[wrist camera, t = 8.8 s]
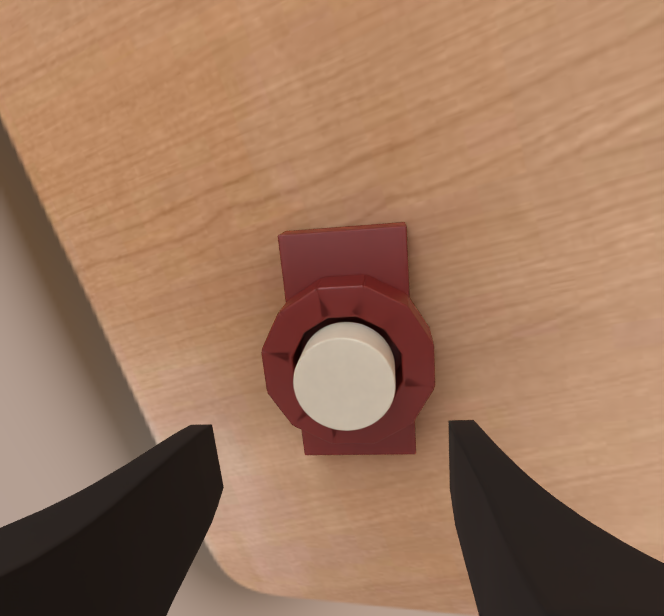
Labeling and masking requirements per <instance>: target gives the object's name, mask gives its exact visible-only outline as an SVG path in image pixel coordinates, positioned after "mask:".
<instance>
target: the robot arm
mask: <svg viewBox="0 0 664 616" xmlns="http://www.w3.org/2000/svg"><path fill="white" fill-rule="evenodd" d="M449 469H450V493H451V500H452V507H453V513H454V520H455V526H456V530H457V534H458V538H459V541H460V545H461V549H462V553H463V557H464V560H465V564H466V568H467V571H468V575H469V579H470V583H471V586H472V590H473V594H474V598H475V601H476V605H477V609H478V612H479V616H664V563H662V562H660V561H658V560H656V559H654V558H652V557H650V556H648V555H646V554H644V553H643V552H641V551H639V550H637V549H635V548H633V547H632V546H630V545H628V544H626V543H624V542H622V541H621V540H619V539H617V538H616V537H614V536H612V535H611V534H609V533H607V532H606V531H604V530H602V529H601V528H599V527H597V526H596V525H594V524H593V523H591V522H590V521H588V520H586V519H585V518H583V517H582V516H580V515H579V514H577V513H576V512H575V511H573V510H572V509H570V508H569V507H568V506H566V505H565V504H563V503H562V502H561V501H559V500H558V499H556V498H555V497H554V496H552V495H551V494H550V493H549V492H547V491H546V490H545V489H543V488H542V487H541V486H540V485H539V484H538V483H536V482H535V481H534V480H533V479H532V478H530V477H529V476H528V475H527V474H526V473H525V472H524V471H523V470H522V469H520V468H519V467H518V466H517V465H516V464H515V463H514V462H513V461H512V460H511V459H510V458H509V457H508V456H507V455H506V454H505V453H504V452H503V451H502V450H501V449H500V448H499V447H498V446H497V445H496V444H495V443H494V442H493V441H492V440H491V438H490V437H489V436H488V435H487V434H486V433H485V432H484V431H483V430H482V429H481V428H480V426H479V425H478V424H477V423H476V422H475V421H474V420H454V421H449ZM223 488H224V487H223V481H222V476H221V471H220V465H219V460H218V455H217V449H216V444H215V438H214V433H213V428H212V425H190V426H188V427H186V428H184V429H182V430H180V431H179V432H177V433H175V434H174V435H172V436H170V437H169V438H167V439H166V440H164V441H162V442H161V443H159V444H158V445H156V446H155V447H153V448H152V449H150V450H148V451H147V452H145V453H144V454H142V455H140V456H139V457H137V458H136V459H134V460H133V461H131V462H130V463H128V464H126V465H125V466H123V467H121V468H120V469H118V470H116V471H114V472H113V473H111V474H109V475H108V476H106V477H104V478H103V479H101V480H99V481H98V482H96V483H94V484H93V485H90V486H89V487H87V488H85V489H83V490H81V491H80V492H77V493H76V494H74V495H72V496H70V497H68V498H66V499H64V500H62V501H60V502H58V503H56V504H54V505H52V506H50V507H47V508H45V509H43V510H41V511H39V512H36V513H34V514H32V515H29V516H27V517H25V518H22V519H20V520H17V521H15V522H13V523H11V524H8V525H6V526H3V527H1V528H0V616H166V615H167V613H168V611H169V608H170V606H171V604H172V602H173V600H174V598H175V596H176V594H177V592H178V590H179V588H180V586H181V584H182V582H183V580H184V578H185V576H186V574H187V572H188V569H189V568H190V566H191V564H192V562H193V560H194V558H195V556H196V554H197V552H198V550H199V548H200V546H201V544H202V542H203V540H204V538H205V536H206V533H207V531H208V529H209V527H210V525H211V523H212V521H213V518H214V515H215V512H216V509H217V507H218V504H219V500H220V497H221V494H222V491H223Z"/></svg>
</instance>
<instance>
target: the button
mask: <svg viewBox="0 0 664 616" xmlns="http://www.w3.org/2000/svg"><path fill="white" fill-rule="evenodd" d="M395 385H396V383H395V361H394V356H393V353H392V351H391V348H390V347H389V345H388V343H387V342H386V341H385V339H384V338H383V337H382V336H381V335H380V334H379V333H377V332H376V331H375V330H373V329H371V328H369V327H367V326H365V325H363V324H359V323H354V322H338V323H334V324H330V325H328V326H325V327H324V328H322V329H320V330H319V331H317V332H316V333H315V334H314V335H313V336H312V337H311V338H310V339H309V341H308V342H307V344H306V346H305V348H304V350H303V352H302V354H301V356H300V359H299V361H298V363H297V365H296V368H295V372H294V378H293V386H294V391H295V395H296V398H297V400H298V402H299V404H300V406H301V407H302V409H303V410H304V411H305V412H306V413H307V414H308V415H309V416H310V417H311V418H312V419H313V420H315V421H316V422H318V423H320V424H322V425H324V426H326V427H328V428H332V429H336V430H345V431H349V430H357V429H362V428H365V427H367V426H370V425H372V424H373V423H375V422H376V421H378V420H379V419H380V418H381V417H383V415H384V414H385V413H386V412H387V411H388V409H389V408H390V406H391V404H392V402H393V399H394V395H395Z"/></svg>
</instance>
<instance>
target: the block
mask: <svg viewBox="0 0 664 616" xmlns="http://www.w3.org/2000/svg"><path fill="white" fill-rule="evenodd" d="M278 242H279V250H280V258H281V266H282V274H283V282H284V290H285V298H286V304H285V305H284V306H283V308H282V309H281V310H280V311H279V313H278V314H277V316H276V319H275V321H274V323H273V325H272V328H271V330H270V332H269V334H268V337H267V339H266V341H265V343H264V346H263V348H262V352H261V353H262V360H263V367H264V374H265V381H266V388H267V391H268V394H269V395H270V397H271V398H272V399H273V401H274V402H275V403H276V404H277V406H278V407H279V408H280V410H281V411H282V412H283V413H284V415H285V416H286V417H287V419H288V420H289V421H290V422H291V424H292V425H294V426H295V427H297V428H299V429H301V430H302V436H303V444H304V453H305V455H379V454H416V438H415V419H416V417H417V416H418V414H419V413H420V411H421V409H422V408H423V406H424V404H425V403H426V401H427V399H428V398H429V396H430V395H431V393H432V391H433V390H434V387H435V363H434V344H433V340H432V336H431V332H430V328H429V326H428V325H427V323H426V322H425V320H424V319H423V317H422V316H421V314H420V313H419V311H418V310H417V308H416V307H415V305H414V304H413V302H412V301H411V299H410V298H409V274H408V251H407V227H406V224H405V222H400V223H387V224H374V225H361V226H348V227H335V228H322V229H309V230H296V231H285V232H283V233H281V234H280V235H278ZM338 322H354V323H359V324H363V325H365V326H367V327H369V328H371V329H373V330H375V331H376V332H377V333H379V334H380V335H381V336H382V337H383V338H384V339H385V341H386V342H387V343H388V345H389V347H390V348H391V351H392V353H393V356H394V361H395V383H396V385H395V395H394V399H393V402H392V404H391V406H390V408H389V409H388V411H387V412H386V413H385V414H384V415H383V417H381V418H380V419H379V420H378V421H376V422H375V423H373V424H372V425H370V426H367V427H365V428H362V429H357V430H349V431H345V430H336V429H332V428H328V427H326V426H324V425H322V424H320V423H318V422H316V421H315V420H313V419H312V418H311V417H310V416H309V415H308V414H307V413H306V412H305V411H304V410H303V409H302V407H301V406H300V404H299V402H298V400H297V398H296V395H295V391H294V386H293V378H294V372H295V368H296V365H297V363H298V361H299V359H300V356H301V354H302V352H303V350H304V348H305V346H306V344H307V342H308V341H309V339H310V338H311V337H312V336H313V335H314V334H315V333H316V332H317V331H319V330H320V329H322V328H324V327H325V326H328V325H330V324H334V323H338Z"/></svg>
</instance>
